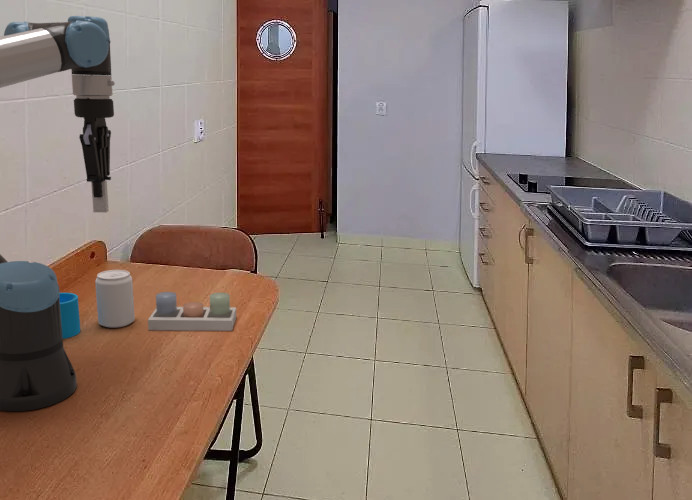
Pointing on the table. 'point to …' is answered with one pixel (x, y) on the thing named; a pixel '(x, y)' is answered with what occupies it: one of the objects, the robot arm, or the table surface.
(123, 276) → the beverage can
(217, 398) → the table surface
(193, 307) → the button terracotta
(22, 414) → the table surface
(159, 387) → the table surface
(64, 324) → the mug
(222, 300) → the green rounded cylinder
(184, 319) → the three-ball tray
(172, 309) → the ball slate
